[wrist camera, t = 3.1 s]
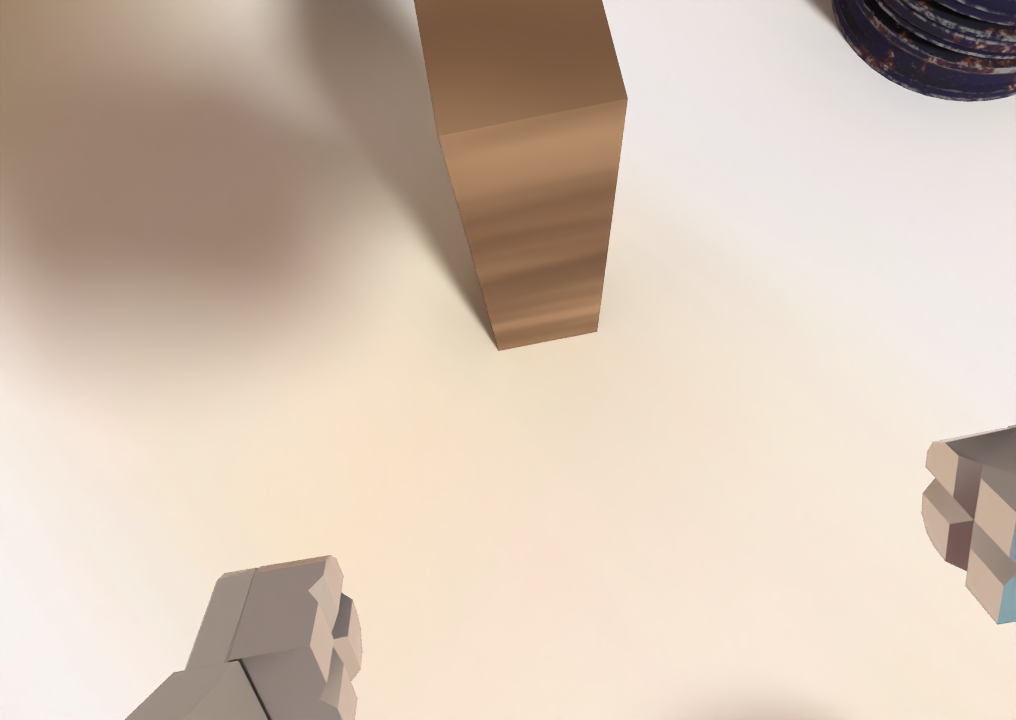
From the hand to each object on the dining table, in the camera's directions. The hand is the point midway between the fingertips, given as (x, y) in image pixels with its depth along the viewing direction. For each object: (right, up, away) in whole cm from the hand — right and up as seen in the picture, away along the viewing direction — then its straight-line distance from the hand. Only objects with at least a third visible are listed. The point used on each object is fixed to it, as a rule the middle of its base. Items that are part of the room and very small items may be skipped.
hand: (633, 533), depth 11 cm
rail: (-1, +5, +18) cm, 18 cm away
